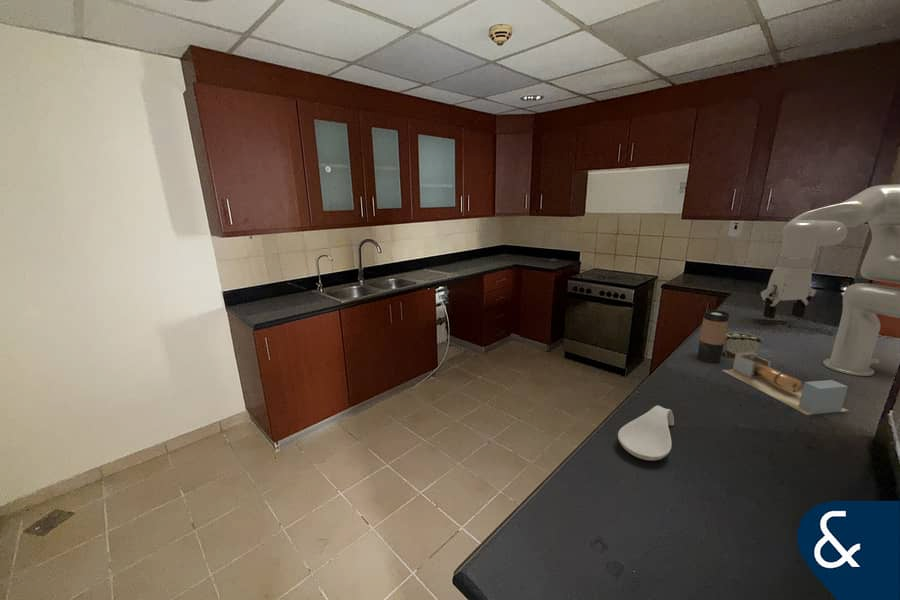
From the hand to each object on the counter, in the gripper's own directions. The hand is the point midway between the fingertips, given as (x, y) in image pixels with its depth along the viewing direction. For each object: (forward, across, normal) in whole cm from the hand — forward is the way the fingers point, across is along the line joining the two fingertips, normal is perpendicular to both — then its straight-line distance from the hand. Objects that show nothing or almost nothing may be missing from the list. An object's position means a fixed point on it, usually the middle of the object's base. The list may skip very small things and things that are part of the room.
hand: (782, 316), depth 114 cm
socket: (+24, -1, +15) cm, 28 cm away
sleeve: (+24, 0, -7) cm, 25 cm away
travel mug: (+25, +4, -21) cm, 33 cm away
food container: (+25, -10, -23) cm, 35 cm away
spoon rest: (+25, +55, +22) cm, 65 cm away
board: (+25, -1, +3) cm, 25 cm away
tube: (+22, -1, -1) cm, 22 cm away
